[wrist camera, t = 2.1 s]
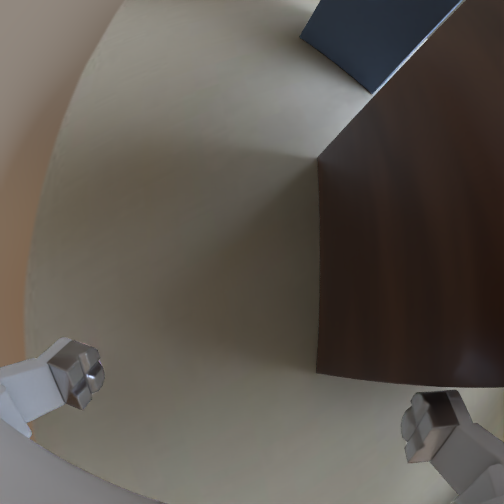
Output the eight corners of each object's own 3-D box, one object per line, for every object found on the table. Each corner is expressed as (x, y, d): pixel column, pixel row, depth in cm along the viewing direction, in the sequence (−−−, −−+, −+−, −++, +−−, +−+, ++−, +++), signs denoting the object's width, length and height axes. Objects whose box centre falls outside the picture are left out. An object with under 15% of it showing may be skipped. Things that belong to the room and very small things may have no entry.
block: (298, 37, 21) (378, -88, 8) (335, 23, 24) (403, -70, 11) (372, 94, 21) (479, -18, 8) (395, 70, 25) (477, -15, 11)
